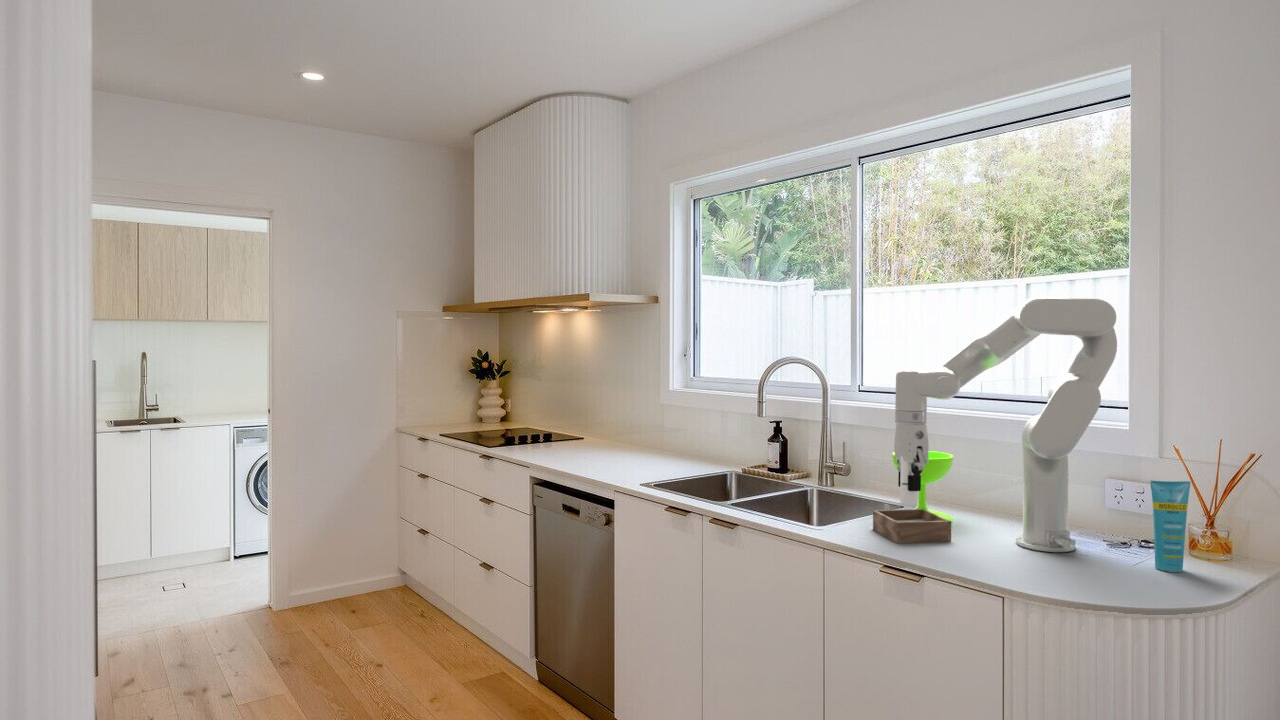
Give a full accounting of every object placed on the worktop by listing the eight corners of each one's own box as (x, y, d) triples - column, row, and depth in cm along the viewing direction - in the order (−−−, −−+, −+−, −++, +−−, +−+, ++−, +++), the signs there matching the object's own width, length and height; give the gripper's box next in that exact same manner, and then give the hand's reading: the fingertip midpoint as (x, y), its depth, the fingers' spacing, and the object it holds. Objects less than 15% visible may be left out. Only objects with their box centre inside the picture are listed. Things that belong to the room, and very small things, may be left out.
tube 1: (897, 503, 193) (898, 445, 192) (913, 503, 193) (914, 445, 192) (904, 506, 188) (905, 447, 188) (920, 506, 189) (921, 447, 188)
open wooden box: (951, 541, 184) (951, 521, 184) (897, 543, 183) (897, 523, 183) (923, 527, 198) (923, 508, 198) (873, 529, 197) (873, 510, 197)
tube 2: (1156, 572, 159) (1156, 482, 158) (1144, 565, 164) (1145, 478, 163) (1194, 573, 158) (1195, 483, 157) (1181, 566, 162) (1182, 478, 162)
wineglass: (880, 514, 214) (880, 452, 214) (928, 511, 218) (928, 449, 218) (915, 527, 198) (915, 460, 198) (966, 523, 203) (966, 457, 202)
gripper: (941, 421, 182) (940, 495, 183) (909, 414, 199) (907, 482, 199) (912, 421, 181) (910, 496, 182) (882, 414, 198) (880, 482, 198)
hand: (909, 488), depth 190 cm, fingers closed on tube 1, 4 cm apart
